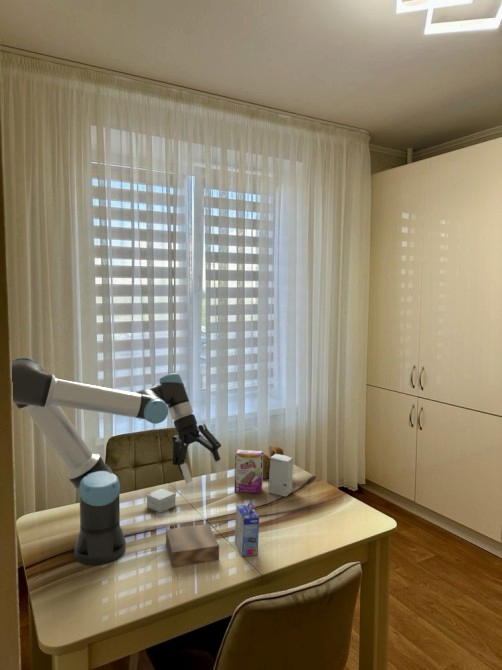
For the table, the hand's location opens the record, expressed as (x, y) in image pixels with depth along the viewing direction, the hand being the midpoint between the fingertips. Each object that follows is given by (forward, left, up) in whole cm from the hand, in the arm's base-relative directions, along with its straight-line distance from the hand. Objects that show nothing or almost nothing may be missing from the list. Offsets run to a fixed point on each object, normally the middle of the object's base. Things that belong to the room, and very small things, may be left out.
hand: (204, 477), depth 158 cm
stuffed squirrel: (+39, +38, -19) cm, 58 cm away
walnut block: (-6, -12, -19) cm, 23 cm away
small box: (-11, +22, -19) cm, 31 cm away
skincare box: (+37, +21, -19) cm, 46 cm away
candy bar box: (+25, +26, -19) cm, 41 cm away
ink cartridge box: (+11, -15, -19) cm, 26 cm away
